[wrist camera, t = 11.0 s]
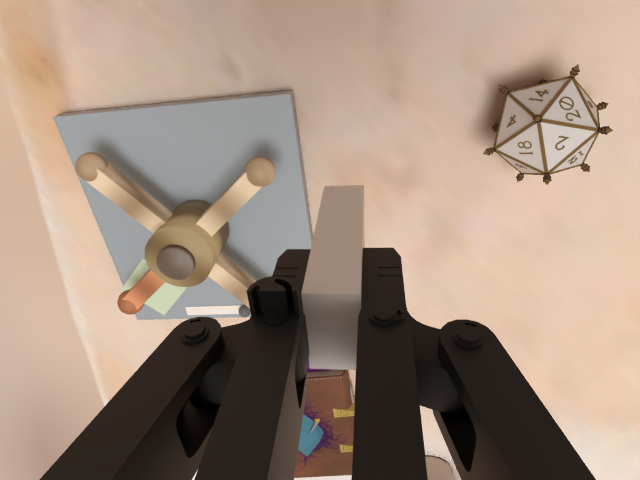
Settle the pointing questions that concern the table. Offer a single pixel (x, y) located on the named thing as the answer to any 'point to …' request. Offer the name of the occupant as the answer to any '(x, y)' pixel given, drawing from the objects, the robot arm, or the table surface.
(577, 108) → the game die
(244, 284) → the capstan
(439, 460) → the coffee cup
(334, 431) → the book
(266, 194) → the plate
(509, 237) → the table surface
